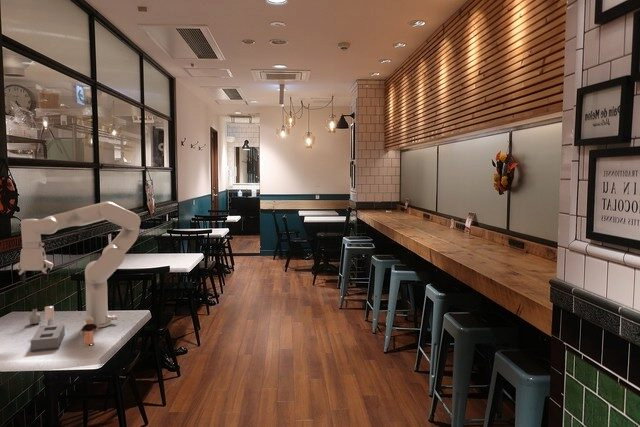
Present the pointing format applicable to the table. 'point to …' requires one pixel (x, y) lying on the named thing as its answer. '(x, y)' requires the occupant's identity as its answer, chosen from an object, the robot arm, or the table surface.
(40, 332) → the hole block
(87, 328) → the grandmother figurine
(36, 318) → the reed diffuser
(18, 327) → the table surface
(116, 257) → the robot arm
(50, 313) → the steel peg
